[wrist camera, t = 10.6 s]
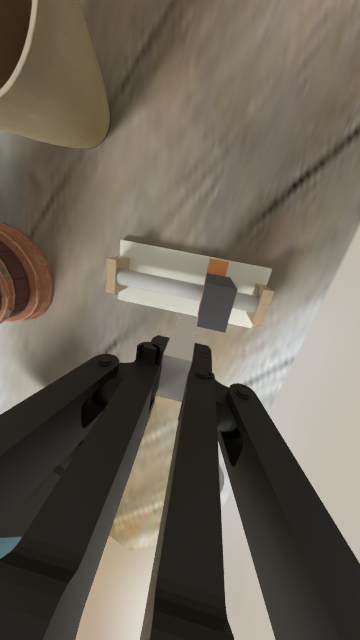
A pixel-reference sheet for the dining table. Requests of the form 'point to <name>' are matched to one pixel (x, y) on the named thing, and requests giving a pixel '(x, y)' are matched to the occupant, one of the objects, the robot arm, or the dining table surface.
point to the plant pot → (50, 74)
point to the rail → (185, 281)
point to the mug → (22, 277)
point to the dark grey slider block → (216, 302)
